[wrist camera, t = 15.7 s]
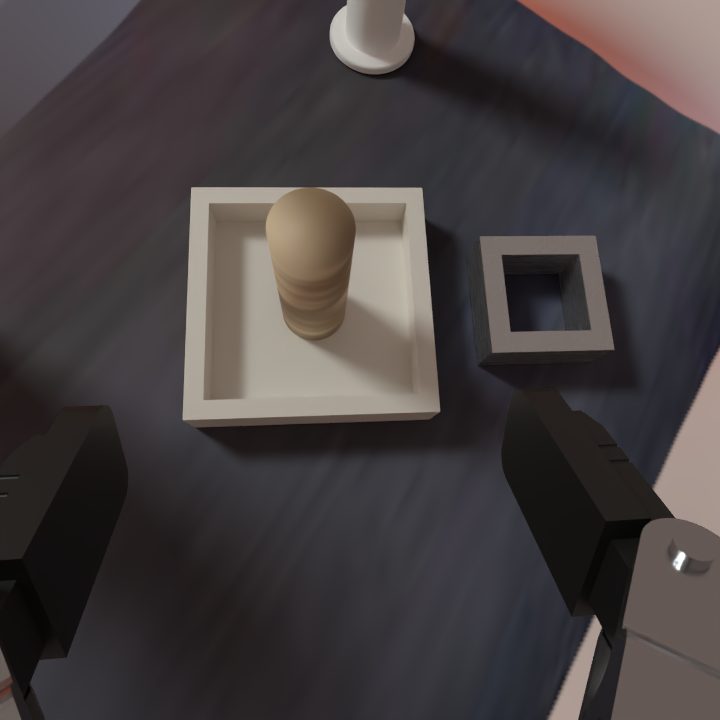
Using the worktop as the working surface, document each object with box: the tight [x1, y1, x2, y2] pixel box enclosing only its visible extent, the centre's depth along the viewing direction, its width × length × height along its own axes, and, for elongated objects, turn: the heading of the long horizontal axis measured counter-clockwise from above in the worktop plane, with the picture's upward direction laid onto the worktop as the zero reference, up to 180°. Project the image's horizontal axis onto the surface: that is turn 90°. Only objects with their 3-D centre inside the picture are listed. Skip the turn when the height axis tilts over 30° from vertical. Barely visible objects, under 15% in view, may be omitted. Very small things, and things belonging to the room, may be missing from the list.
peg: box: [266, 188, 356, 340], centre depth 32 cm, size 4×4×12 cm
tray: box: [183, 188, 440, 428], centre depth 37 cm, size 16×16×4 cm
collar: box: [467, 236, 614, 365], centre depth 39 cm, size 8×8×4 cm
